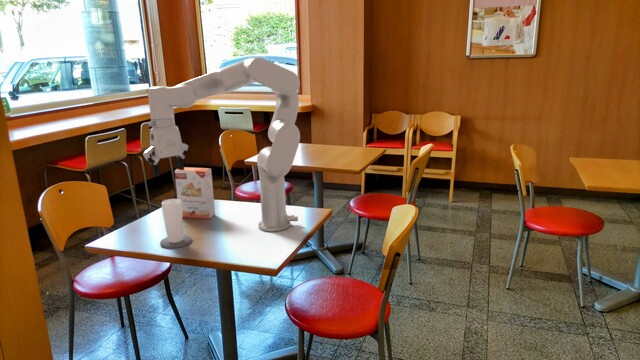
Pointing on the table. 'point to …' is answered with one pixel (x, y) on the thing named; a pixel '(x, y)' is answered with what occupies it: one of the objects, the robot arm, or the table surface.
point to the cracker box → (195, 192)
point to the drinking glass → (173, 219)
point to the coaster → (184, 242)
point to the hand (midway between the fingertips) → (169, 172)
